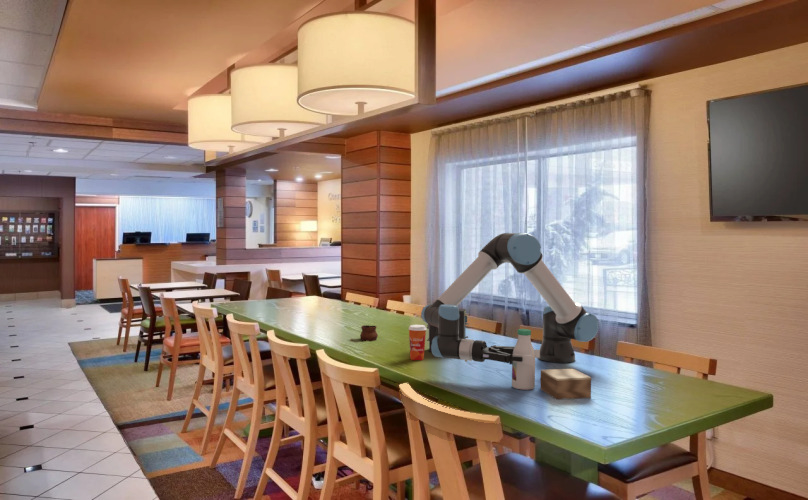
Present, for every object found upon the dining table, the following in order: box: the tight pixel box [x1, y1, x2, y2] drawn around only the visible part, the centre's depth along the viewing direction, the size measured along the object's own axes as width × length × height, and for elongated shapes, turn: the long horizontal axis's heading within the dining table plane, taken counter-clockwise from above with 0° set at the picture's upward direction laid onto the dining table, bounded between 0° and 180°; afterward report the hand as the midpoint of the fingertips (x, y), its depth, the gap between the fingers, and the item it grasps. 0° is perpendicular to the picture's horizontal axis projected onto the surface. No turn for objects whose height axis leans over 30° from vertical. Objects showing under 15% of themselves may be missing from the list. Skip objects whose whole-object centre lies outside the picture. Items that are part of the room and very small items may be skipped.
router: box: [426, 308, 470, 353], centre depth 253 cm, size 8×18×20 cm, turn 78°
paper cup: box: [408, 324, 427, 361], centre depth 236 cm, size 8×8×14 cm
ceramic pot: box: [350, 325, 379, 342], centre depth 280 cm, size 18×18×7 cm
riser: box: [540, 368, 592, 400], centre depth 188 cm, size 12×12×7 cm
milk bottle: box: [511, 328, 536, 391], centre depth 194 cm, size 8×8×20 cm
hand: (536, 356), depth 193 cm, fingers open, 10 cm apart
